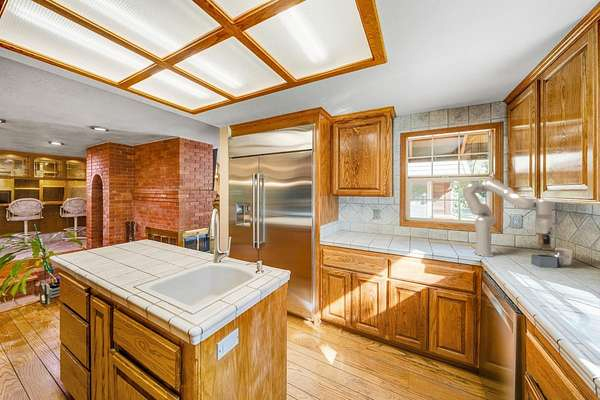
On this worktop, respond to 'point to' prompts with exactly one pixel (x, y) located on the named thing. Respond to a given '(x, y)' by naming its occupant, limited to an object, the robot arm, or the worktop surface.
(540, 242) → the wedge peg
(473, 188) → the robot arm
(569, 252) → the white cup
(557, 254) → the grey boxy piece
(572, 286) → the worktop surface
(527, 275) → the worktop surface
